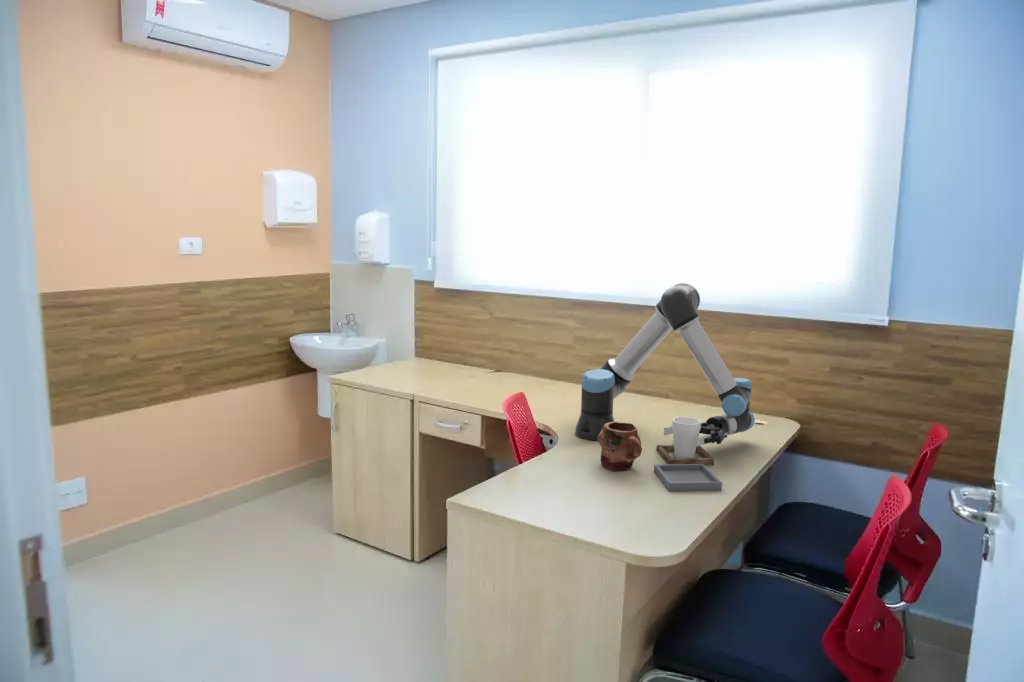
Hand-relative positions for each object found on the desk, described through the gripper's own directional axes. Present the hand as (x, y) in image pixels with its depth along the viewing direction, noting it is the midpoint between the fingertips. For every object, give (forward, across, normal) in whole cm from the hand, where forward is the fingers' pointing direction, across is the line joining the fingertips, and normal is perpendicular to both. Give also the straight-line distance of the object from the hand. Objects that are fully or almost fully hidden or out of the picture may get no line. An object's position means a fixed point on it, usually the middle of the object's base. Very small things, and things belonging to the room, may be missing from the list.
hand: (680, 436), depth 240 cm
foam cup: (-3, 0, -8) cm, 9 cm away
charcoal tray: (+13, -14, -8) cm, 21 cm away
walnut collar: (-3, 0, -8) cm, 8 cm away
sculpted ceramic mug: (+22, +5, -8) cm, 24 cm away
